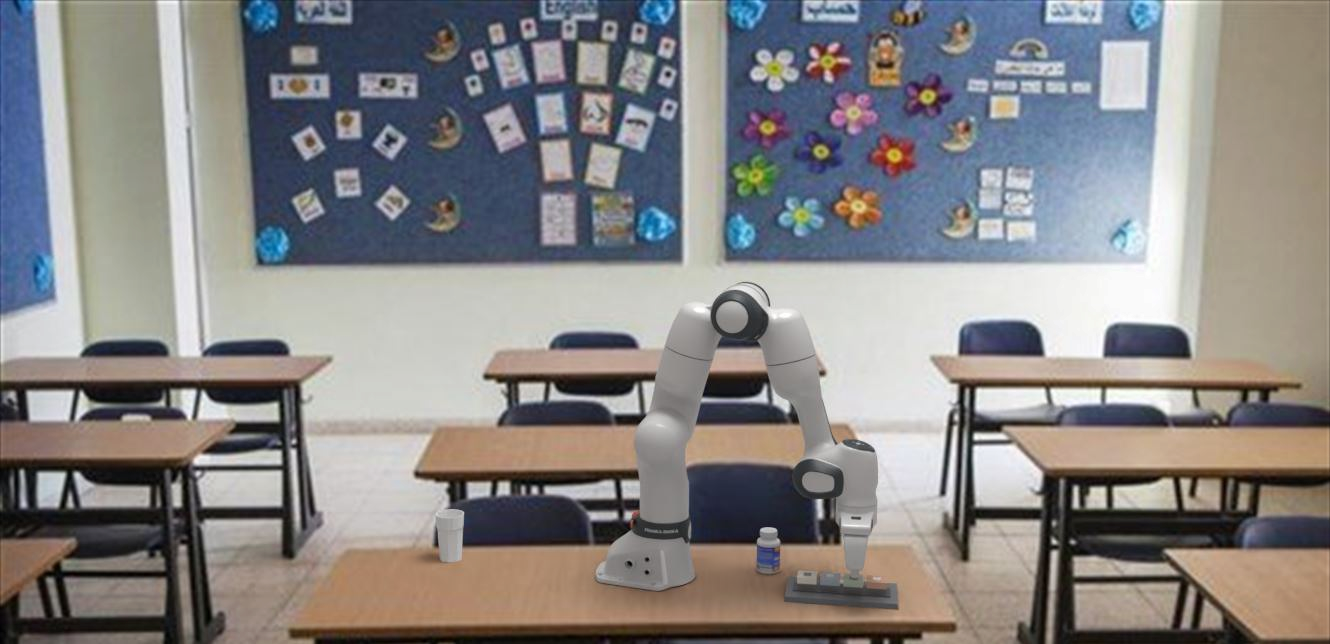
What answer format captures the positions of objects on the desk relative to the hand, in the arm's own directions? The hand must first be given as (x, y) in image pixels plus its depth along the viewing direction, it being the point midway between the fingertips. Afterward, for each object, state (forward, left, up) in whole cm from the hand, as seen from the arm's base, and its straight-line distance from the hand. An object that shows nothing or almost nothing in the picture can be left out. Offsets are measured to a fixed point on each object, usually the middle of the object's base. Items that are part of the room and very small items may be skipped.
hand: (854, 575), depth 271 cm
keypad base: (-3, 0, -5) cm, 5 cm away
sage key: (0, 0, -2) cm, 2 cm away
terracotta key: (+5, 0, -2) cm, 5 cm away
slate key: (-5, 0, -2) cm, 6 cm away
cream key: (-10, 0, -2) cm, 10 cm away
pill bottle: (-20, +12, -5) cm, 24 cm away
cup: (-94, +6, -5) cm, 94 cm away
